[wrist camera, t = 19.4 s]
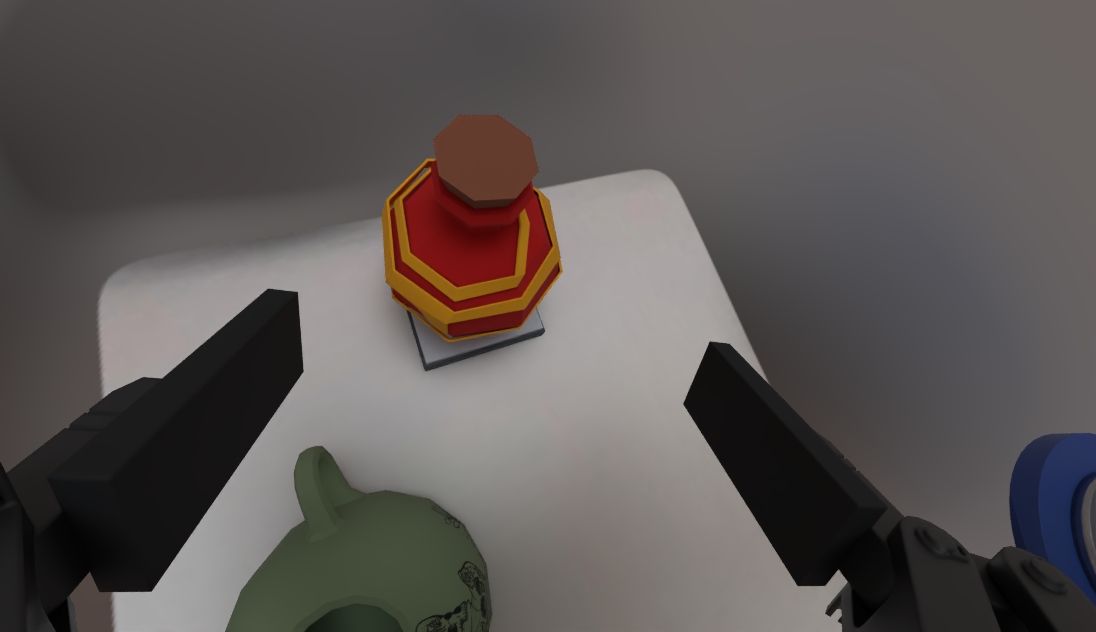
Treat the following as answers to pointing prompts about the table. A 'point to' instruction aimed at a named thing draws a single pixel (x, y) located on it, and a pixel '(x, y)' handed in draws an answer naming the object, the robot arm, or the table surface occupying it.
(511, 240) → the potion bottle
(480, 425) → the table surface
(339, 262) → the table surface
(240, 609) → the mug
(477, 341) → the scale
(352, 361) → the table surface
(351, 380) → the table surface
